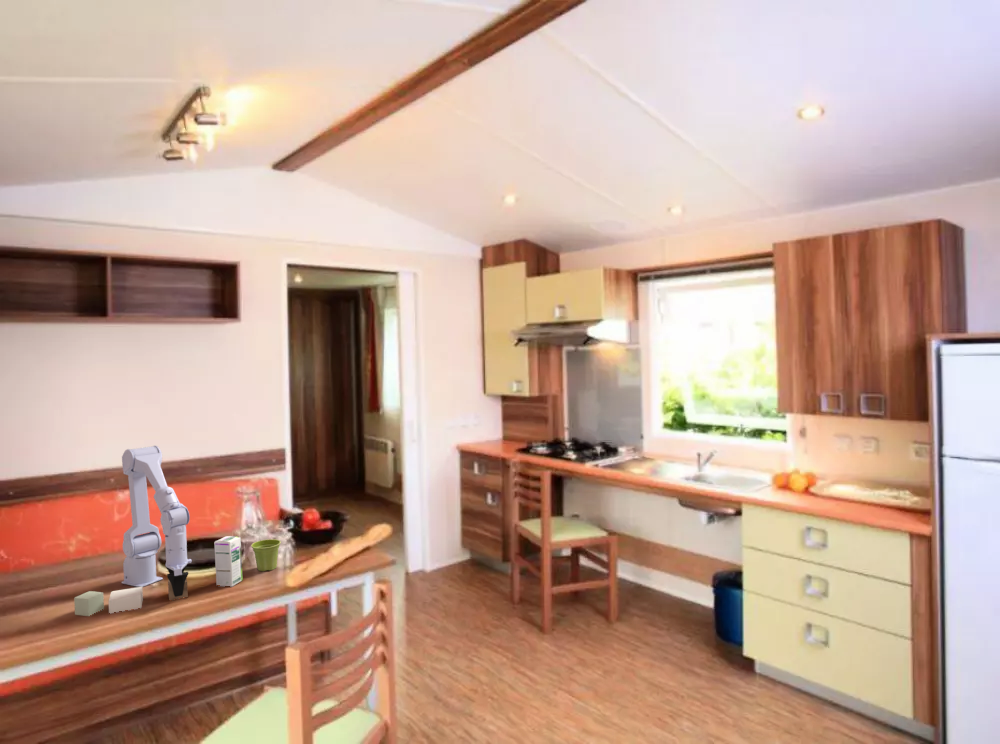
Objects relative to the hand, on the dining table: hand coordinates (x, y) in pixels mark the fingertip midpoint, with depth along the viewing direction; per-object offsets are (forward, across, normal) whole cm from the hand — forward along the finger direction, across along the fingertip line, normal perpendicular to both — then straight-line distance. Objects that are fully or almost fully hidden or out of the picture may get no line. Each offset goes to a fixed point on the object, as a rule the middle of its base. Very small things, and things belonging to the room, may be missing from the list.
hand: (177, 591), depth 196 cm
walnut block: (+2, 0, 0) cm, 2 cm away
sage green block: (+2, +1, +23) cm, 23 cm away
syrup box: (+2, +3, -15) cm, 15 cm away
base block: (+2, 0, +14) cm, 14 cm away
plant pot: (+2, +11, -28) cm, 30 cm away
